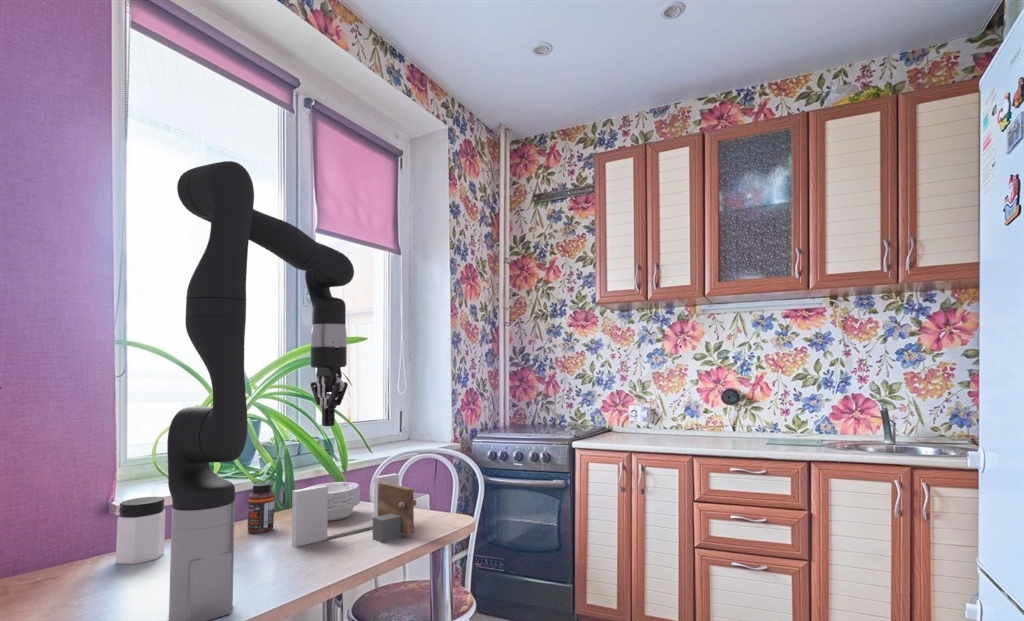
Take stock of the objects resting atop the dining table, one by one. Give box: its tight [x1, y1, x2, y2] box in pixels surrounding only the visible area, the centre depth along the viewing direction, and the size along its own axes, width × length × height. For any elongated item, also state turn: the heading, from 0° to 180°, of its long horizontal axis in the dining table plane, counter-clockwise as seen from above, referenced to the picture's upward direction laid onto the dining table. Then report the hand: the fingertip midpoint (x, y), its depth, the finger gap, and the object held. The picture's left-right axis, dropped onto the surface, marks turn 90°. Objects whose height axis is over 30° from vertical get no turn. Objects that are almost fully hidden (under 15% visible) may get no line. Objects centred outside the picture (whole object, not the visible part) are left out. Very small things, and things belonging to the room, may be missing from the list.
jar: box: [115, 496, 166, 565], centre depth 125 cm, size 9×8×12 cm
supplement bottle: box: [247, 482, 275, 534], centre depth 144 cm, size 6×6×11 cm
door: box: [378, 482, 418, 535], centre depth 140 cm, size 4×14×10 cm, turn 44°
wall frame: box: [291, 473, 400, 548], centre depth 140 cm, size 2×27×12 cm, turn 134°
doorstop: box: [372, 513, 402, 544], centre depth 135 cm, size 4×5×5 cm
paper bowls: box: [306, 481, 361, 522], centre depth 156 cm, size 15×15×8 cm
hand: (328, 425), depth 126 cm, fingers closed
